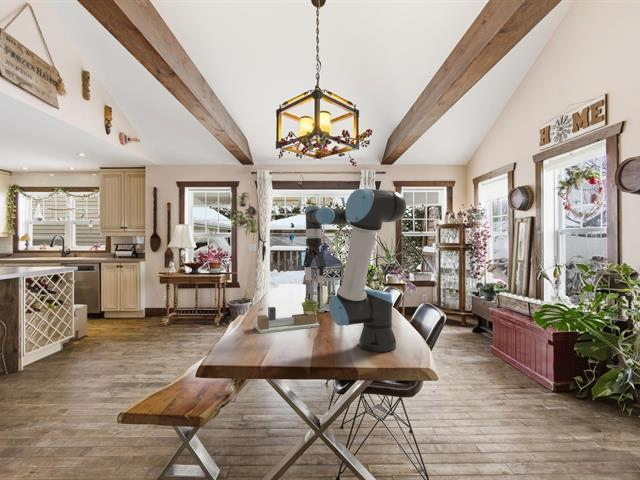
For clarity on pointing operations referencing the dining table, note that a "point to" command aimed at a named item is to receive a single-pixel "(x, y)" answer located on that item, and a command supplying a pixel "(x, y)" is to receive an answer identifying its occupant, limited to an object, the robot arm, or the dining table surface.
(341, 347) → the dining table surface
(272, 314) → the slide bar
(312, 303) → the plant pot
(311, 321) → the board
